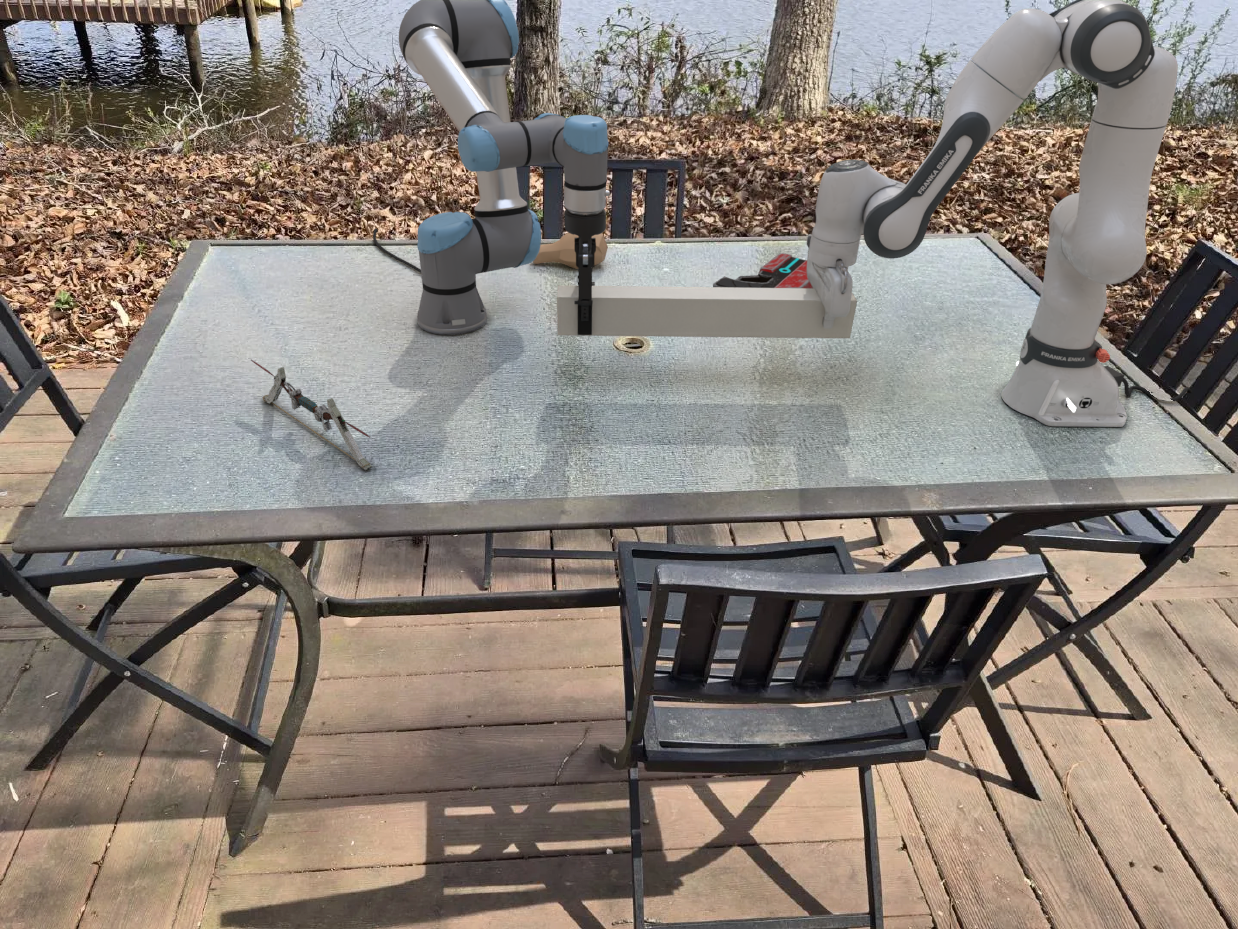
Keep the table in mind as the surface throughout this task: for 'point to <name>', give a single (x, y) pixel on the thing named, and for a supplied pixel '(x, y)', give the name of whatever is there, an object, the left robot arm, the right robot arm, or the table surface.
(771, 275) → the gun
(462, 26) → the left robot arm
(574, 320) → the post
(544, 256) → the squash
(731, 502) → the table surface
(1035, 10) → the right robot arm
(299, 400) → the bow
